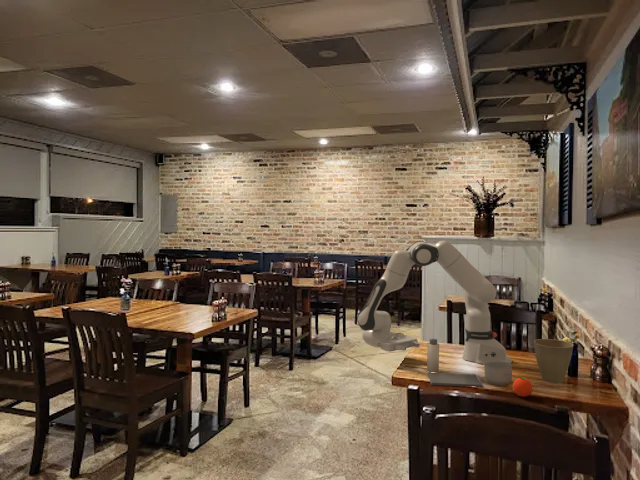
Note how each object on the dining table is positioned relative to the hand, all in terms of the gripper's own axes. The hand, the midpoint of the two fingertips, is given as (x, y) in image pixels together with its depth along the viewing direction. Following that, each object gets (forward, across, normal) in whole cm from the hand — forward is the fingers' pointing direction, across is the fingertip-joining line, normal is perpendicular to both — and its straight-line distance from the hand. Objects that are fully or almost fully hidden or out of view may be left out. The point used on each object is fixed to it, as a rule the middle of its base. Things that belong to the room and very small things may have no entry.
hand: (411, 347), depth 226 cm
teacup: (+38, +9, +8) cm, 40 cm away
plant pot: (+51, +29, +8) cm, 59 cm away
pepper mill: (+12, 0, +8) cm, 15 cm away
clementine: (+53, +1, +8) cm, 54 cm away
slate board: (+26, -4, +8) cm, 28 cm away
